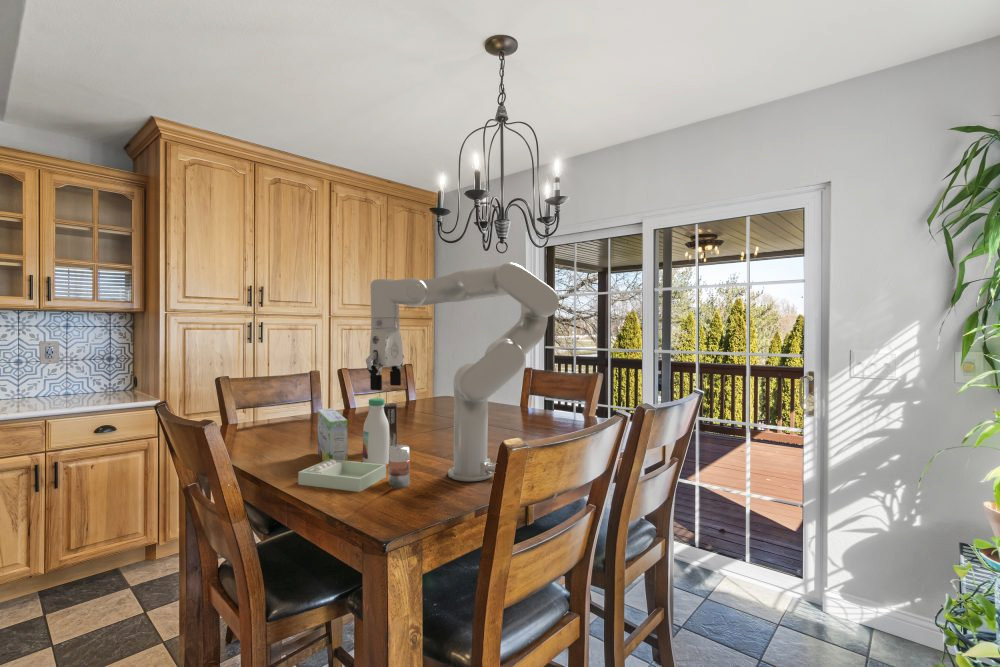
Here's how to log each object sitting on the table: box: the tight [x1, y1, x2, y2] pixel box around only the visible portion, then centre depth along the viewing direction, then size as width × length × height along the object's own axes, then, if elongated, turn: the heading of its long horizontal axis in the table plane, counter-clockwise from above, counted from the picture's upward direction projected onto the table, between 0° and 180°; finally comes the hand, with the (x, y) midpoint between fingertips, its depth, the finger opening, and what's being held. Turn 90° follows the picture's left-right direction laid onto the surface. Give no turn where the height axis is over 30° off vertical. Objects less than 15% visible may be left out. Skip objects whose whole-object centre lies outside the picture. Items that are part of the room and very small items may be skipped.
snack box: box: [316, 407, 349, 462], centre depth 150 cm, size 21×6×15 cm, turn 30°
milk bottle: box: [362, 397, 389, 466], centre depth 148 cm, size 8×8×20 cm
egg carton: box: [308, 460, 342, 476], centre depth 133 cm, size 4×9×4 cm, turn 164°
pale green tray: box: [297, 459, 387, 493], centre depth 131 cm, size 18×13×4 cm
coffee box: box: [368, 402, 398, 447], centre depth 162 cm, size 9×6×16 cm
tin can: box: [387, 444, 411, 489], centre depth 130 cm, size 6×6×10 cm
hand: (386, 387), depth 134 cm, fingers open, 9 cm apart
